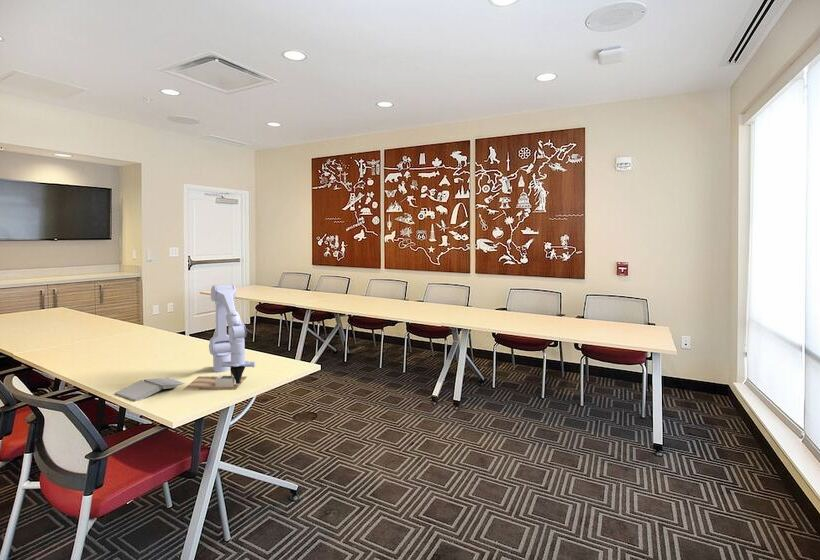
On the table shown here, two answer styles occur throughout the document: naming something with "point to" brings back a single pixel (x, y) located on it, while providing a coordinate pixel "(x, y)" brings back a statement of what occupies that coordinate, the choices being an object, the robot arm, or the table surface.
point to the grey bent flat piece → (147, 388)
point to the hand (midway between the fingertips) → (238, 382)
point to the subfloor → (209, 384)
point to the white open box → (225, 381)
